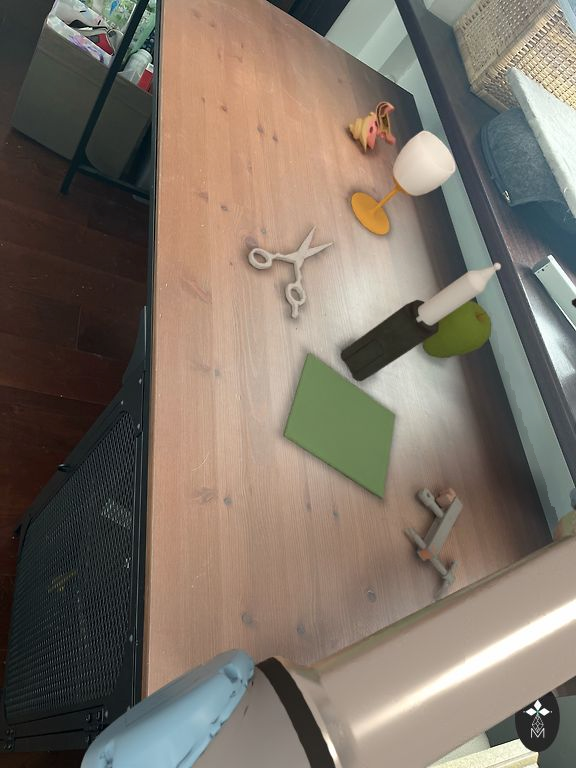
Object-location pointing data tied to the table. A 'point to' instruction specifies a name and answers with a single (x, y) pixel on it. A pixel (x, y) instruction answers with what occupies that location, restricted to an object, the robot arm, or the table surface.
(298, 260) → the scissors
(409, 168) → the cup
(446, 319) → the green rounded fruit
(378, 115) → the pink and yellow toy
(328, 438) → the cloth
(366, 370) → the candle
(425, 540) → the clamp
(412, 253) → the table surface
